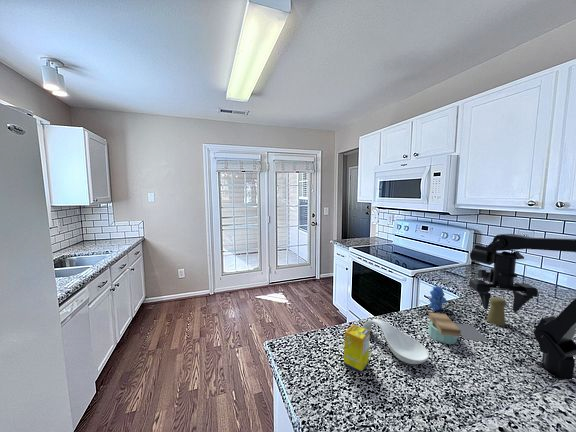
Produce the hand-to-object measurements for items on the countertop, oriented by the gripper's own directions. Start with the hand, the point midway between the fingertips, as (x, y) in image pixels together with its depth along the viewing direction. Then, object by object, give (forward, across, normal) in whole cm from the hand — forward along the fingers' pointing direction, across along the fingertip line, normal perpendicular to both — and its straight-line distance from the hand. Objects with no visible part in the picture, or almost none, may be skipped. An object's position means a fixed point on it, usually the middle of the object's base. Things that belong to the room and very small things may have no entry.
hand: (499, 310), depth 88 cm
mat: (+12, +7, -4) cm, 15 cm away
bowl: (+12, +19, +2) cm, 22 cm away
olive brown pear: (+12, -8, -15) cm, 21 cm away
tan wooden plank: (+8, +19, +2) cm, 20 cm away
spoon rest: (+12, +39, +12) cm, 43 cm away
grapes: (+12, +12, -21) cm, 27 cm away
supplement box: (+12, +52, +24) cm, 58 cm away
